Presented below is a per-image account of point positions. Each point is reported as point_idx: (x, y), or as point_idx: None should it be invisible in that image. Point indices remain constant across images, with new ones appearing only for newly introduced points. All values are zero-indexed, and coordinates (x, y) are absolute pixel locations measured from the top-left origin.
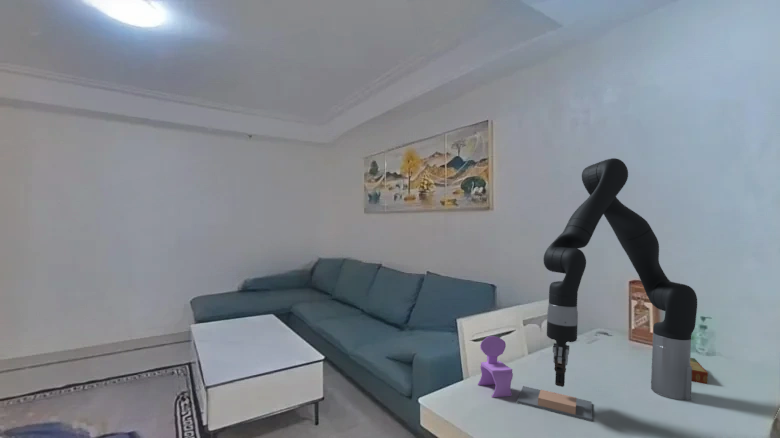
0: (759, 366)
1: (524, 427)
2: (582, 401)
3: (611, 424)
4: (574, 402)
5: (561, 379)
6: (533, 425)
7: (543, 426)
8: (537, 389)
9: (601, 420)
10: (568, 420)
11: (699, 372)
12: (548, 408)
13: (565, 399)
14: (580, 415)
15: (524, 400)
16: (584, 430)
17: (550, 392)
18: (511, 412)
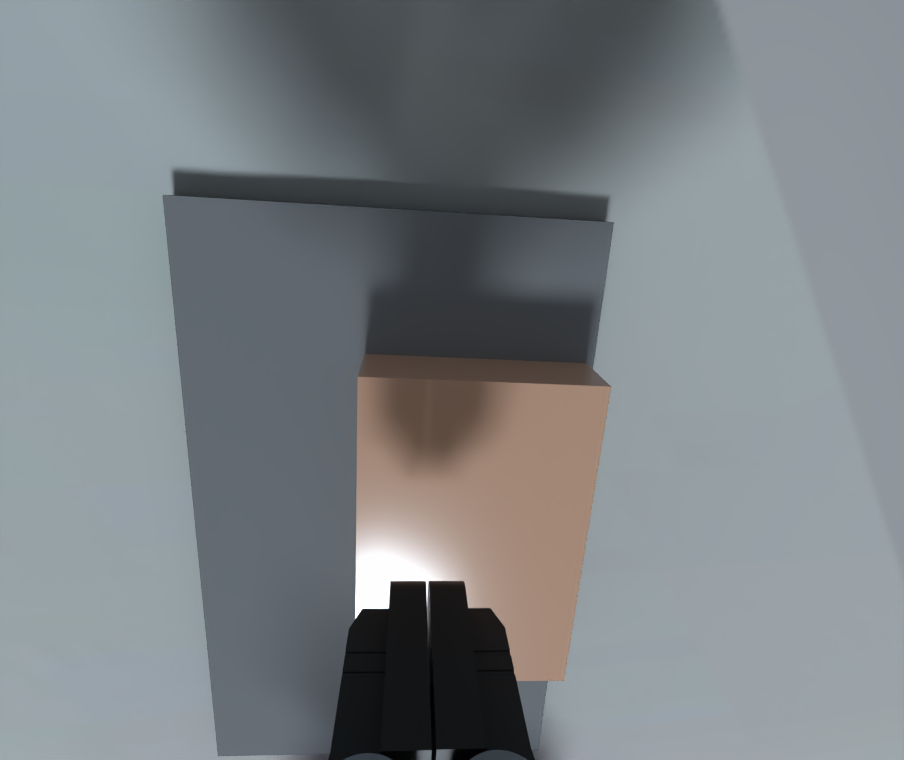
0: None
1: (875, 652)
2: (227, 290)
3: (584, 32)
4: (507, 397)
5: (511, 687)
6: (832, 612)
7: (826, 559)
8: (215, 661)
9: (538, 127)
10: (666, 408)
11: None
12: None
13: (477, 478)
14: (582, 322)
15: None
16: (795, 294)
17: (377, 606)
18: (698, 737)
